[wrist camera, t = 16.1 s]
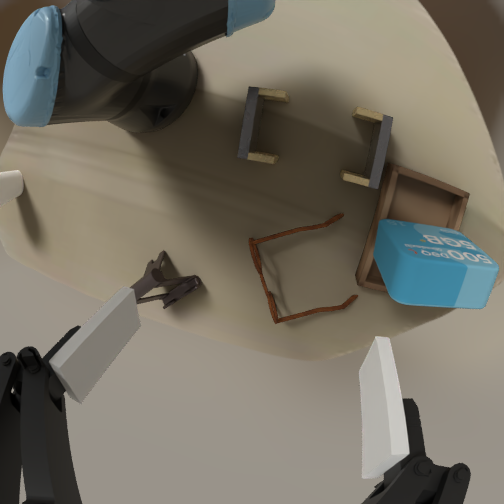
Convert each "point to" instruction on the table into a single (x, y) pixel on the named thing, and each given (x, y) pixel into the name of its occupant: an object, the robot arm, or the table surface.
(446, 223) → the tray
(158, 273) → the portable electronic device stand
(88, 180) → the table surface
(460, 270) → the data package
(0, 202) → the foam cup
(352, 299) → the glasses
